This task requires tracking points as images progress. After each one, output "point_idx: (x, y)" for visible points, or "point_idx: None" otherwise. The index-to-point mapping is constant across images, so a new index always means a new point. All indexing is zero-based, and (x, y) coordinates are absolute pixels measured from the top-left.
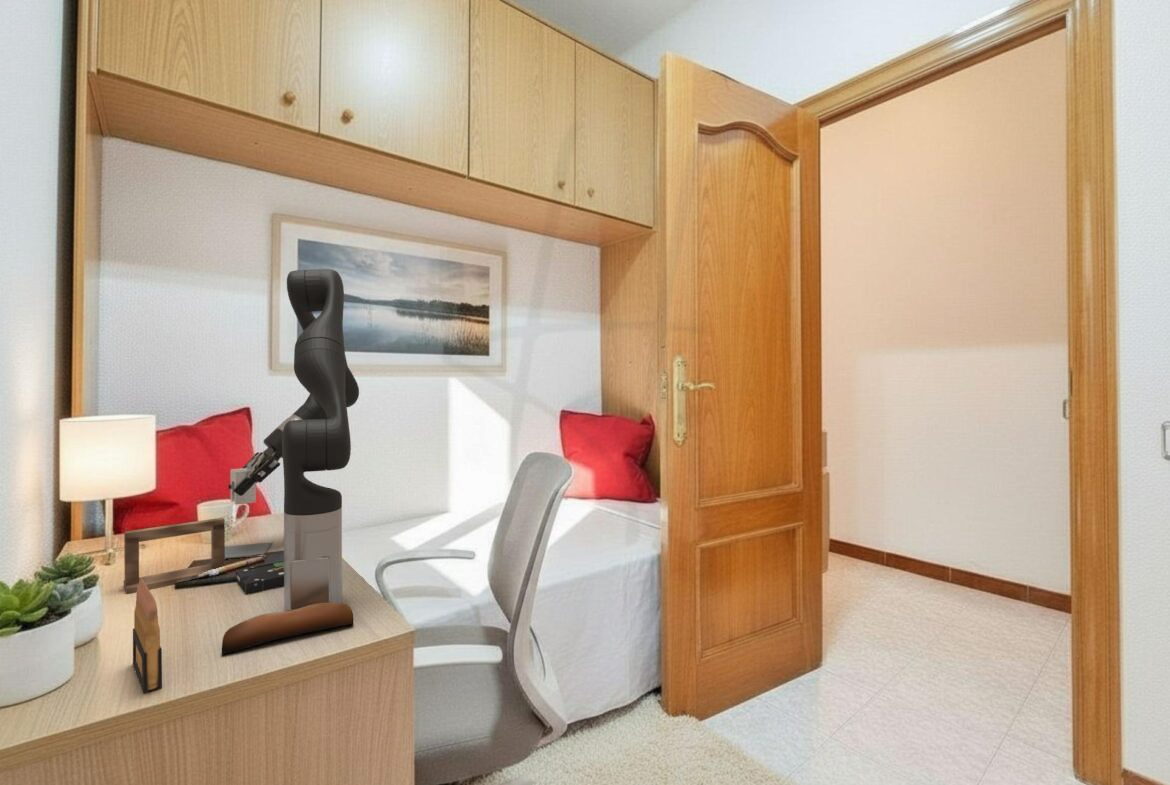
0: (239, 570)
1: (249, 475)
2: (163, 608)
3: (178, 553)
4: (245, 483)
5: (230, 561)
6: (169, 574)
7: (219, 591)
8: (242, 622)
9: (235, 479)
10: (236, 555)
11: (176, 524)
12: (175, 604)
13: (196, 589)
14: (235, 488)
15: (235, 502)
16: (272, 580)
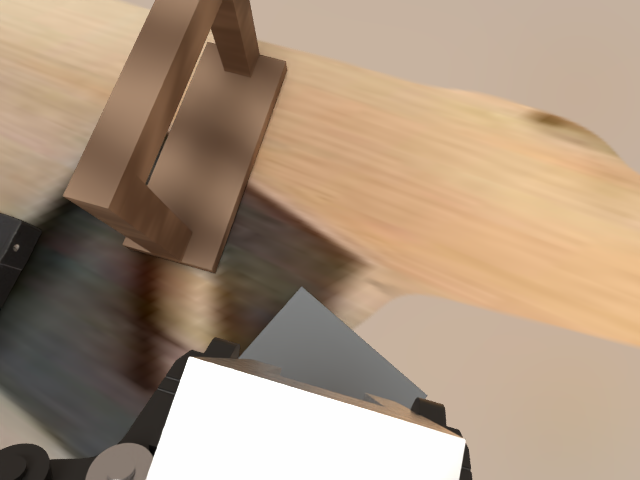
0: (8, 224)
1: (100, 467)
2: (28, 54)
3: (499, 274)
4: (143, 410)
5: (241, 319)
6: (227, 136)
7: (4, 164)
8: None
9: (223, 360)
10: (263, 352)
11: (172, 49)
12: (26, 76)
13: (79, 143)
14: (215, 347)
15: (261, 362)
16: None
